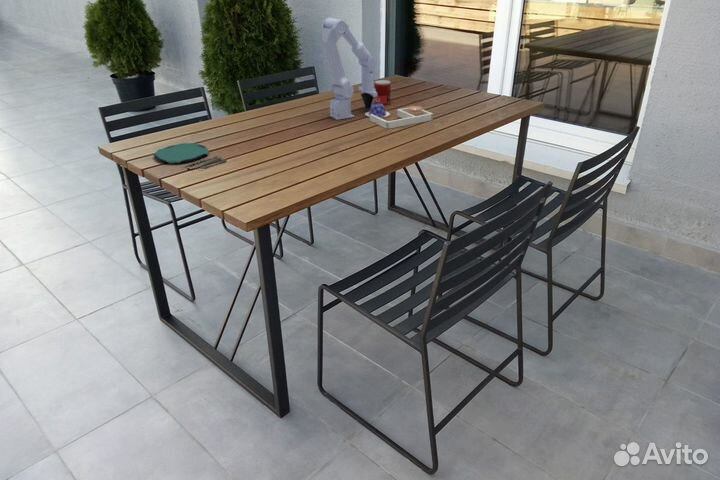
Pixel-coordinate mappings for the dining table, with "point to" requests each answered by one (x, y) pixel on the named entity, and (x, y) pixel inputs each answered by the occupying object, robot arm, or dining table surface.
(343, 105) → the robot arm
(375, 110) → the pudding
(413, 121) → the serving frame
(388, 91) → the canned food
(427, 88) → the dining table surface
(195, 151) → the cutlery set
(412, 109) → the ramekin
